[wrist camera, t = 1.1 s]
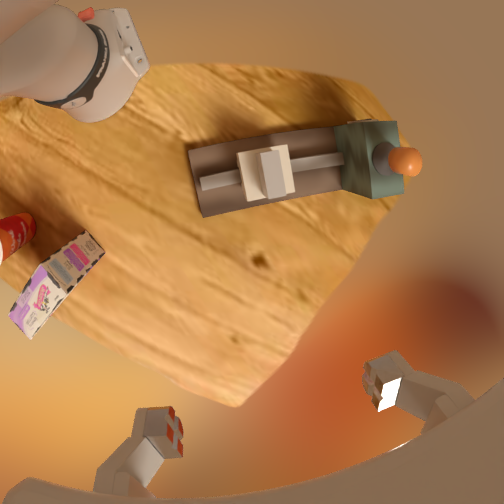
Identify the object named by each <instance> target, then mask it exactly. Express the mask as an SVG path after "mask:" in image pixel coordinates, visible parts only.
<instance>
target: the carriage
mask: <svg viewBox="0 0 504 504" xmlns="http://www.w3.org/2000/svg"><path fill="white" fill-rule="evenodd" d="M236 155H237V160H238V161H237V165H238V167H239V170H240V175H241V180H242V183H241V185H242V190H243V191H244V195H245V199H246V200H247V201H248V202H249V201H253V200H258V199H263V198H268V199H273V198H278V197H283V196H287V195H286V194H288V193H293V192H295V188H294V181H293V175H292V169H291V163H290V158H289V152H288V146H287V145H279V146H273V147H267V148H261V149H255V150H250V151H245V152H239V153H236Z"/></svg>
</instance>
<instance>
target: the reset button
mask: <svg viewBox="0 0 504 504" xmlns="http://www.w3.org/2000/svg"><path fill="white" fill-rule="evenodd" d="M388 163H389V166H390V168H391V170H392V171H393V172H395V173H398V174H403V175H408V176H415V175H417V174H418V173H419V172H420V170H421V168H422V158H421V155H420V153H419V152H418V150H416V149H415V148H407V147H395V148H393V149H392V150H391V151H390V153H389V156H388Z"/></svg>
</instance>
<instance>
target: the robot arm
mask: <svg viewBox="0 0 504 504" xmlns="http://www.w3.org/2000/svg"><path fill="white" fill-rule="evenodd" d="M57 1H58V0H0V97H3V96H17V97H24V98H30V99H34V100H35V101H36V102H38V103H40V104H43V105H46V106H50V107H54V108H59V109H62V110H64V111H66V112H67V113H68V114H69V115H71V116H72V117H73V118H75V119H76V120H79V121H82V122H97V121H101V120H104V119H106V118H108V117H110V116H111V115H113V114H114V113H116V112H117V111H118V110H119V109H120V108H121V107H122V106H123V105H124V104H125V103H126V102H127V100H128V99H129V97H130V96H131V94H132V92H133V90H134V88H135V85H136V83H137V82H138V80H139V79H140V78H141V77H142V76H143V75H144V74H145V73H146V72H147V71H148V70H149V68H150V63H149V61H148V58H147V56H146V53H145V51H144V49H143V46H142V44H141V41H140V39H139V36H138V34H137V31H136V29H135V26H134V24H133V21H132V18H131V16H130V14H129V12H128V10H127V9H125V8H112V9H101V10H96V11H94V10H93V9H92V8H91V7H90V8H88V9H86V10H84V11H82V12H79V13H78V16H76V14H75V13H73V12H72V11H71V10H70V9H68V8H67V7H64V6H60V5H55V4H54V3H56V2H57ZM113 12H114V13H113ZM141 59H142V62H140V63H138V61H139V60H141ZM363 368H364V370H365V373H364V374H363V376H362V382H363V387H364V389H365V391H366V393H367V394H368V395H370V396H372V403H373V404H374V406H375V408H376V409H377V410H378V411H380V410H383V409H385V408H388V407H390V406H393V405H395V406H397V407H399V408H401V409H403V410H404V411H406V412H408V413H410V414H412V415H414V416H416V417H418V418H420V419H422V420H424V421H426V422H425V424H424V426H423V428H422V431H421V435H419V436H418V437H416V438H414V439H412V440H410V441H408V442H406V443H404V444H402V445H401V446H398V447H396V448H394V449H392V450H390V451H387V452H385V453H383V454H381V455H378V456H376V457H374V458H371V459H369V460H366V461H364V462H361V463H359V464H356V465H354V466H351V467H349V468H345V469H343V470H340V471H337V472H334V473H331V474H327V475H325V476H321V477H318V478H314V479H311V480H307V481H303V482H300V483H295V484H291V485H287V486H283V487H278V488H273V489H268V490H263V491H257V492H251V493H244V494H237V495H228V496H218V497H205V498H181V499H165V498H163V499H162V498H156V497H155V495H154V494H152V493H151V492H150V491H149V490H147V489H146V486H147V485H148V484H149V482H150V481H151V479H152V478H153V476H154V475H155V473H156V472H157V470H158V469H159V467H160V466H161V464H162V463H163V461H164V459H168V458H181V457H183V444H182V443H181V441H180V440H181V439H182V438H183V427H182V423H181V421H180V419H179V418H178V417H177V416H175V410H174V409H173V407H171V406H168V407H150V408H138V409H137V411H136V414H135V419H134V425H133V430H132V435H131V437H128V439H126V440H125V441H124V442H123V443H122V444H121V445H120V446H119V447H118V448H117V449H116V451H115V452H114V453H113V454H112V455H111V456H110V457H109V458H108V459H107V460H106V461H105V462H104V463H103V464H102V465H101V466H100V467H99V468H98V469H97V473H96V477H95V482H94V488H93V492H91V491H85V490H80V489H75V488H71V487H66V486H62V485H58V484H54V483H50V482H47V481H43V480H40V479H37V478H33V477H28V478H26V479H24V480H23V481H21V482H20V483H18V484H17V485H16V486H15V487H13V488H12V489H11V490H10V491H9V492H8V493H7V495H6V496H5V498H4V500H3V503H2V504H504V378H503V379H501V380H500V381H499V382H498V383H497V384H495V385H494V386H493V387H492V388H490V389H489V390H488V391H487V392H485V393H484V394H483V395H482V396H480V397H479V398H477V399H476V400H474V399H473V397H472V396H471V395H470V394H469V393H468V392H467V391H466V390H465V388H464V387H463V386H462V385H461V384H459V383H456V382H453V381H449V380H446V379H443V378H440V377H437V376H434V375H430V374H427V373H424V372H421V371H414V370H413V368H412V367H411V366H410V365H409V364H408V363H407V361H405V359H404V358H403V357H402V356H401V355H400V353H399V352H398V351H396V350H394V351H392V352H389V353H386V354H384V355H381V356H378V357H376V358H374V359H371V360H368V361H365V363H364V367H363Z"/></svg>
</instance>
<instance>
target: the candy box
mask: <svg viewBox="0 0 504 504" xmlns="http://www.w3.org/2000/svg"><path fill="white" fill-rule="evenodd" d="M104 254H105V251H104V250H103V249H102V248H101V247H100V246H99V245H98V244H97V242H96V241H95V240H94V239H93V238H92V236H91V235H90V234H89V233H88V232H87V231H86V230H85V231H84V232H82V233H81V234H80V235H78V236H77V237H76V238H74V239H73V240H71V241H70V242H69V243H67V244H66V245H64V246H63V247H62V248H60V249H59V250H58V251H56V252H55V253H54V254H52V255H51V256H50V257H48V258H47V259H46V260H44V261H43V262H42V263H40V264H39V266H38V267H37V269H36V270H35V272H34V273H33V274H32V276H31V278H30V279H29V281H28V282H27V284H26V285H25V287H24V288H23V290H22V292H21V293H20V295H19V297H18V299H17V300H16V302H15V303H14V305H13V307H12V308H11V310H10V312H9V314H8V316H9V317H10V318H11V320H12V321H13V322H14V323H15V324H16V325H17V326H18V327H19V328H20V329H21V330H22V332H24V334H25V335H26V336H27V337H28V338H29V339H32V338H33V337H34V335H35V334H36V333H37V332H38V331H39V329H40V328H41V327H42V326H43V324H44V323H45V322H46V321H47V320H48V318H49V317H50V316H51V315H52V314H53V312H54V311H55V310H56V309H57V308H58V306H59V305H60V304H61V303H62V302H63V301H64V299H65V298H66V297H67V296H68V295H69V294H70V292H71V291H72V290H73V289H74V288H75V286H76V285H77V284H78V283H79V282H80V281H81V280H82V278H83V277H84V276H85V275H86V274H87V273H88V272H89V270H90V269H91V268H92V267H93V266H94V265H95V264H96V263H97V262H98V260H99V259H100V258H101V257H102V256H103V255H104Z"/></svg>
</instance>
